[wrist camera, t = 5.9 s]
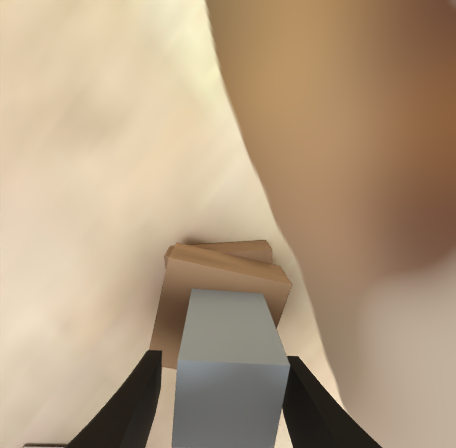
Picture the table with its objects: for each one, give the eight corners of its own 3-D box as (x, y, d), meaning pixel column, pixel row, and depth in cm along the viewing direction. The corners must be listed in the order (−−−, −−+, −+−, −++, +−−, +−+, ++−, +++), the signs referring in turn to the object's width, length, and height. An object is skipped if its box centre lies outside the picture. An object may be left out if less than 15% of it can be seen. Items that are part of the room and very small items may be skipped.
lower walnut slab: (265, 318, 19) (272, 340, 17) (180, 324, 19) (175, 347, 17) (264, 237, 18) (271, 249, 15) (171, 243, 18) (164, 256, 15)
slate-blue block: (253, 353, 14) (273, 449, 9) (186, 349, 14) (171, 447, 9) (262, 293, 13) (290, 365, 8) (191, 288, 13) (177, 359, 8)
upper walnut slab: (251, 352, 17) (257, 382, 15) (156, 334, 16) (145, 364, 14) (280, 266, 16) (292, 284, 13) (176, 242, 15) (168, 257, 12)
